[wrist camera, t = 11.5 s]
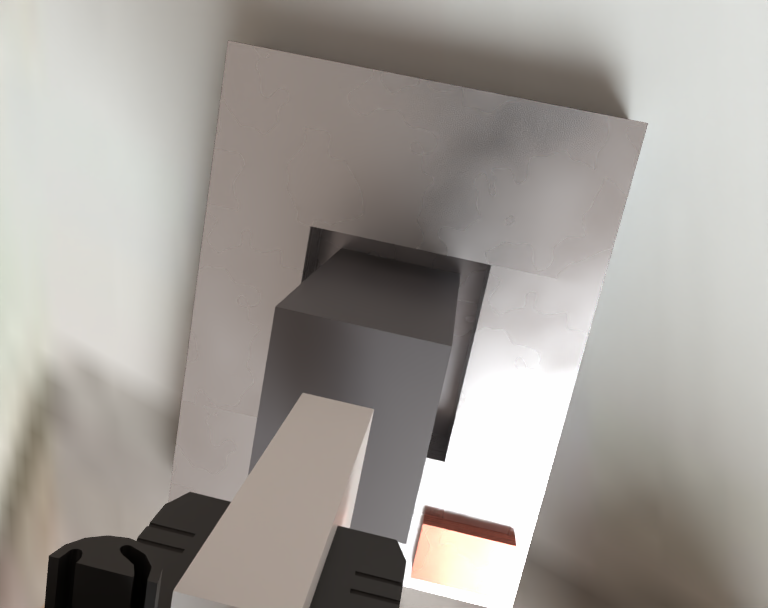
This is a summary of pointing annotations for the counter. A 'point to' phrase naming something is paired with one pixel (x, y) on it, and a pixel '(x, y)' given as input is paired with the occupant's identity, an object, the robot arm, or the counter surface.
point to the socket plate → (416, 246)
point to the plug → (366, 369)
